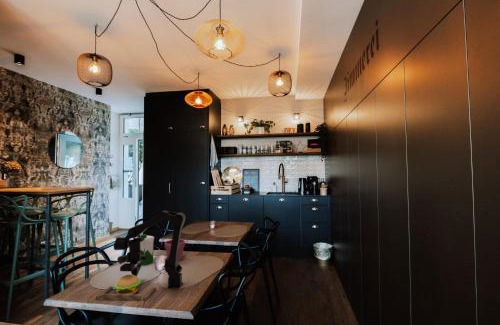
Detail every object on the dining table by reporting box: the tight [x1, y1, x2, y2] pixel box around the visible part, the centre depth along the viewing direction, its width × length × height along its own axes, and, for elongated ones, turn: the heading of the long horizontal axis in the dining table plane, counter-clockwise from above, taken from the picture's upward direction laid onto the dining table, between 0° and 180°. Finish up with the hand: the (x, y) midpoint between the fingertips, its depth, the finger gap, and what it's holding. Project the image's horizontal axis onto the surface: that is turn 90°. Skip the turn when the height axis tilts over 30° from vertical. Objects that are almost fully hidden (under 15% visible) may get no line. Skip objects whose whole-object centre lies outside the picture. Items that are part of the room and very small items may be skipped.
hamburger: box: [114, 274, 141, 294], centre depth 133 cm, size 12×12×9 cm
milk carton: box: [139, 233, 155, 267], centre depth 176 cm, size 9×9×20 cm
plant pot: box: [164, 238, 186, 261], centre depth 184 cm, size 14×14×13 cm
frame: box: [95, 286, 157, 302], centre depth 130 cm, size 26×11×2 cm, turn 85°
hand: (134, 278), depth 139 cm, fingers closed
